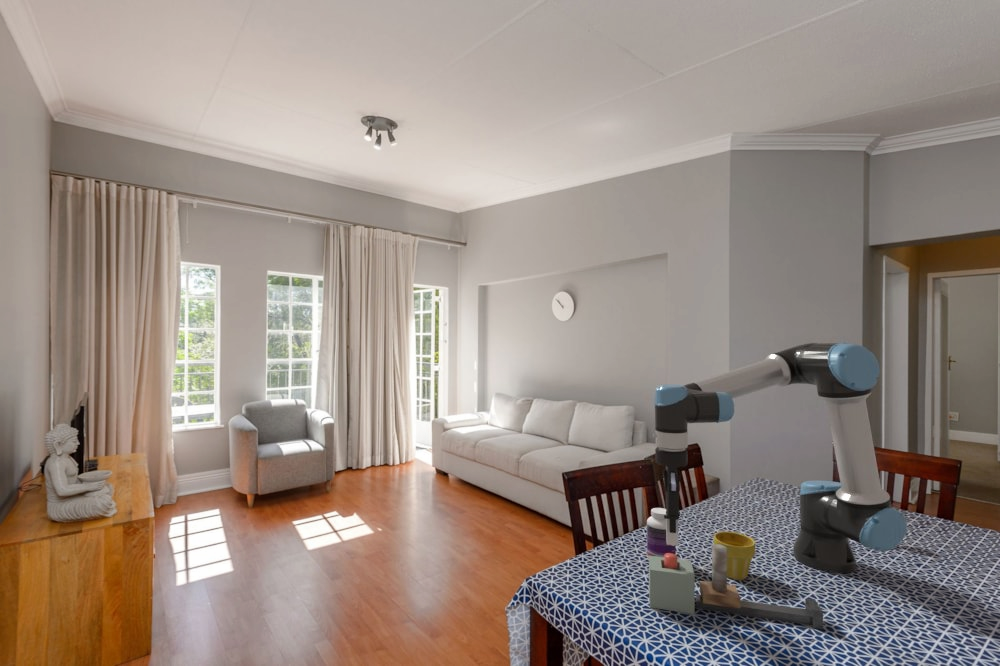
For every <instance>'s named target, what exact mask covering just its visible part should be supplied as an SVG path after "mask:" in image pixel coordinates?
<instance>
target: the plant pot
mask: <svg viewBox="0 0 1000 666" xmlns="http://www.w3.org/2000/svg"><path fill="white" fill-rule="evenodd" d="M715 544H718V545H723V546H725V547H726V548H727V578H729V579H733V580H737V581H740V580H745V579H746V578H748V575H749V571H750V566H751V563H752V559H753V558H754V557H755V556H756V542H755V540H754V539H753V538H751V536H748V535H746V534H744V533H739V532H736V531H735V532H734V531H725V530H724V531H718V532H716V533H714V535H713V545H715Z"/></svg>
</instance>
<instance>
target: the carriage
mask: <svg viewBox="0 0 1000 666" xmlns="http://www.w3.org/2000/svg"><path fill="white" fill-rule="evenodd" d="M711 557H712V558H711V578H712V579H711V581H705V580H703V581H702V580H699V592H700V593H699V594H700V595H701V597H702V601H703V603H705V604H712V605H719V606H726V607H734V608H740V600H741V595H740V594H739V591H738V589H737V587H736V585H735V584H728V577H727V548H726V547H725V546H723V545H718V544H715V545H714V544H713V545H712V547H711Z"/></svg>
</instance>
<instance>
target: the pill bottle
mask: <svg viewBox="0 0 1000 666" xmlns="http://www.w3.org/2000/svg"><path fill="white" fill-rule="evenodd" d="M650 515H651V516H649V517H648V518H647V520H646V558H647V560H649V556H657V557H664V554H666V553H672V554H675V555H677V554H676V552H677V551H676V549H677V548H676V547H677V546H676V545H667V543H666V519H664V515H667V514H666V508H665V507H664V508H663V507H653V508H651V510H650Z"/></svg>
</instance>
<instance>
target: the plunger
mask: <svg viewBox="0 0 1000 666" xmlns="http://www.w3.org/2000/svg"><path fill="white" fill-rule="evenodd" d="M677 559H678V555H677V554H676V555H675V554H672V553H666V554H664V568H667V569H675V570H677Z"/></svg>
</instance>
